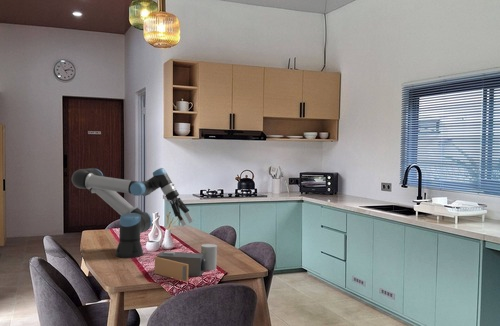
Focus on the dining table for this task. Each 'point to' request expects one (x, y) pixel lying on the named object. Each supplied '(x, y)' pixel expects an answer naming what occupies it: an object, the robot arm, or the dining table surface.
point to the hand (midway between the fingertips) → (188, 223)
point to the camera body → (187, 261)
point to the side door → (171, 269)
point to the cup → (210, 255)
